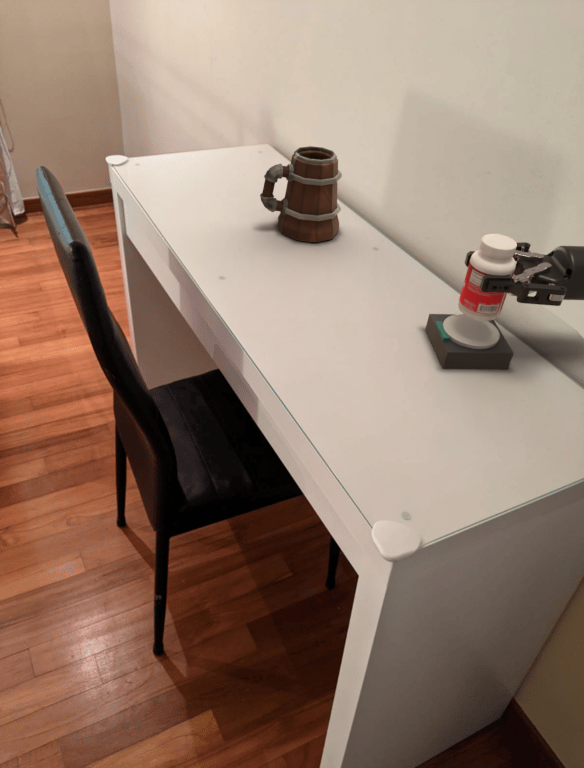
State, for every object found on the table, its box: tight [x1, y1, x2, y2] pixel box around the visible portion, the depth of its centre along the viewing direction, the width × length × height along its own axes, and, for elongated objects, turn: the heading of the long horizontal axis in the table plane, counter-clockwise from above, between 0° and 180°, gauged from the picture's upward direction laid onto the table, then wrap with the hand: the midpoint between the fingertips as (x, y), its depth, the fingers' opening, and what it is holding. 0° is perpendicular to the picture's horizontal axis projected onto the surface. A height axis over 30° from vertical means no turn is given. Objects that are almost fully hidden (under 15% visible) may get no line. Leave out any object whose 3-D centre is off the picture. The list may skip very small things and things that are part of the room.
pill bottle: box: [457, 233, 518, 321], centre depth 86 cm, size 6×6×11 cm
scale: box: [424, 313, 515, 370], centre depth 92 cm, size 10×10×4 cm
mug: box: [259, 145, 343, 243], centre depth 116 cm, size 16×12×15 cm
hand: (474, 271), depth 85 cm, fingers closed on pill bottle, 6 cm apart
